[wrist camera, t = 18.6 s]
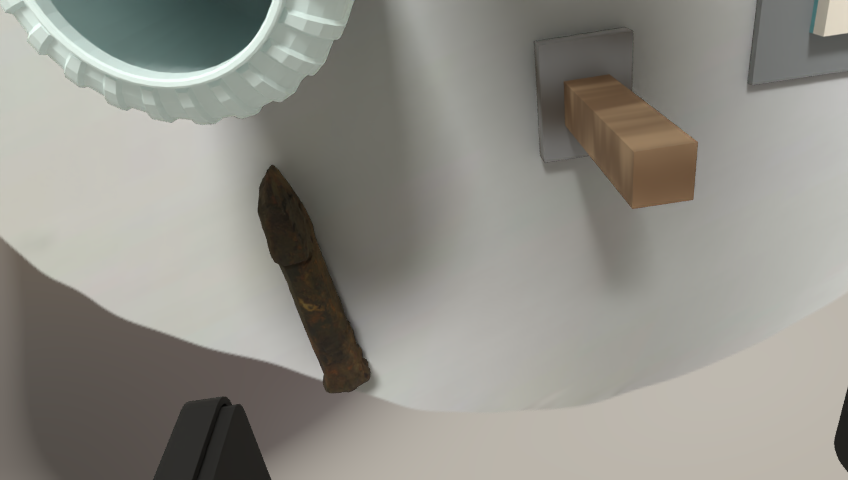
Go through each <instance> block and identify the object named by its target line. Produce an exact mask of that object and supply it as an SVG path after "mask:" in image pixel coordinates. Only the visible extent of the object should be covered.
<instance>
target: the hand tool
mask: <svg viewBox="0 0 848 480" xmlns="http://www.w3.org/2000/svg"><path fill="white" fill-rule="evenodd" d="M258 214H259V217H260V221H261V224H262V228H263V230H264V233H265V236H266V239H267V243H268V247H269V251H270V254H271V257H272V259H273V260H274V262H275V263H277V264H279V266H280V268H281V270H282V272H283V274H284V277H285V279H286V281H287V283H288V286H289V290H290V292H291V294H292V297H293V299H294V302H295V305H296V308H297V310H298V313H299V315H300V318H301V320H302V323H303V325H304V328H305V330H306V332H307V335H308V338H309V340H310V342H311V345H312V348H313V350H314V352H315V354H316V356H317V358H318V361H319V363H320V366H321V368H322V371H323V373H324V377H323V385H324V388H325V390H326V391H327V392H329V393H341V392H351V391H353V390H355V389H356V388H357V387H358V386H360V385H362V384H363V383H365V382H367V381H368V380H369V379H370V368H369V367H368V361H367V360H366V359H365V358H363V357H362V350H361V348H360V347H359V345H358V344H356V340H355V338H354V333H353V330H352V328H351V326H350V322H349V321H348V320H347V319H346V316H345V314H344V311H343V308H342V304H341V300H340V298H339V296H338V294H337V292H336V289H335V287H334V285H333V282H332V279H331V277H330V274H329V272H328V269H327V266H326V264H325V261H324V259H323V257H322V254H321V251H320V248H319V246H318V243H317V241H316V237H315V233H314V229H313V224H312V222H311V220H310V217H309V215H308V213H307V211H306V210H305V208H304V206H303V204H302V202H301V201H300V200H299V198H298V197H297V195H296V194H295V192H294V191H293V189H292V188H291V186H290V185H289V183H288V182H287V181H286V179H285V178H284V177H283V176H282V174H281V173H280V172H279V170H278V169H277V168H276V167H275V166H274V165H271V166H270V167H269V169H268V170H267V172H266V175H265V176H264V178H263V179H262V182H261V184H260V187H259V202H258Z"/></svg>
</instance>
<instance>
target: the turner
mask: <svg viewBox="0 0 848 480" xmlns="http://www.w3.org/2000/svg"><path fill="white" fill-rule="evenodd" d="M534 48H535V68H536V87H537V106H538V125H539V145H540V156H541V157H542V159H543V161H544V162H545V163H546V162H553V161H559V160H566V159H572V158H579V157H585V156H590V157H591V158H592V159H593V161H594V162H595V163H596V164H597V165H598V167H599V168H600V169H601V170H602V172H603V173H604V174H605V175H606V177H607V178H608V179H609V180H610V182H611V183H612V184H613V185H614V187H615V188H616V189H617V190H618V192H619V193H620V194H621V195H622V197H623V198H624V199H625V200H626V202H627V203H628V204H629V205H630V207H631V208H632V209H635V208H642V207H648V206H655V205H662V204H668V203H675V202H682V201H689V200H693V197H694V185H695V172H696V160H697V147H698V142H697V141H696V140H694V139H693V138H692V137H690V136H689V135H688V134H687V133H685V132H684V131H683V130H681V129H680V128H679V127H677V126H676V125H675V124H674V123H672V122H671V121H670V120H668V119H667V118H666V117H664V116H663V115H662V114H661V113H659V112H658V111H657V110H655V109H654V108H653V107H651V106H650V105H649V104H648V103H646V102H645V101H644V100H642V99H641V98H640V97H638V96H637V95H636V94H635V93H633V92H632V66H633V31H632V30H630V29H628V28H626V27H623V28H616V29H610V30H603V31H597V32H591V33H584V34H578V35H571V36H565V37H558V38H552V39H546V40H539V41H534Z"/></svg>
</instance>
